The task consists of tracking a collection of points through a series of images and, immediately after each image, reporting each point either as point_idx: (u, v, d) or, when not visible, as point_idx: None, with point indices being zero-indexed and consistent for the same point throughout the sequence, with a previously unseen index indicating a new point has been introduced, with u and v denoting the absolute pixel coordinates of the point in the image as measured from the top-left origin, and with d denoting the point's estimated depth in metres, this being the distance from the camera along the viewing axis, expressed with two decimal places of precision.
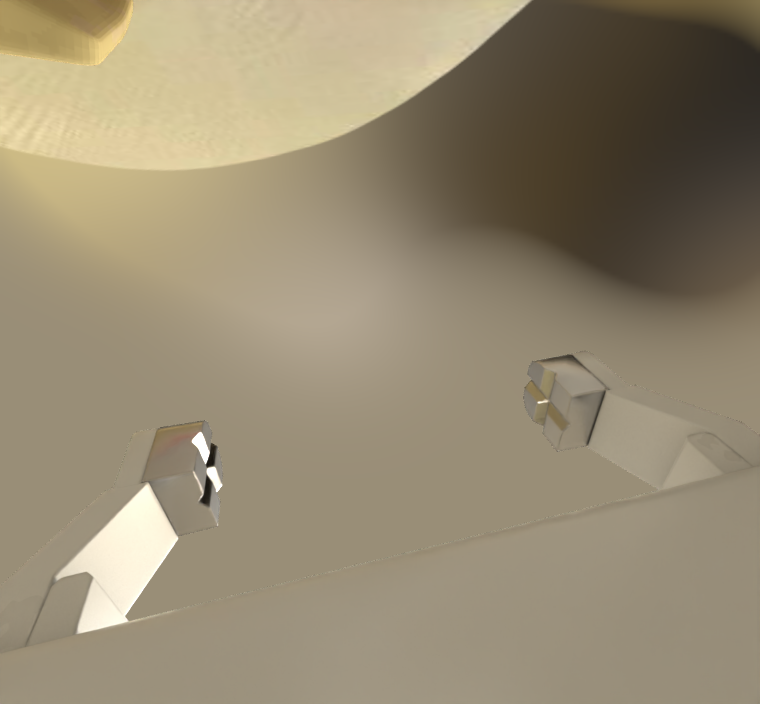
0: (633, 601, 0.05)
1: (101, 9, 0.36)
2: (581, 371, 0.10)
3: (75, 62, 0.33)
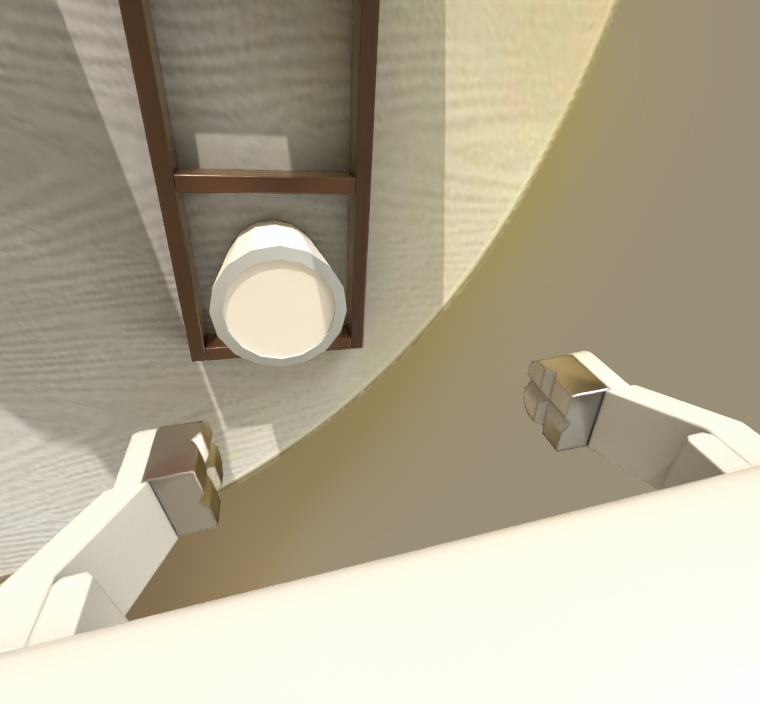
0: (633, 601, 0.05)
1: None
2: (581, 371, 0.10)
3: None
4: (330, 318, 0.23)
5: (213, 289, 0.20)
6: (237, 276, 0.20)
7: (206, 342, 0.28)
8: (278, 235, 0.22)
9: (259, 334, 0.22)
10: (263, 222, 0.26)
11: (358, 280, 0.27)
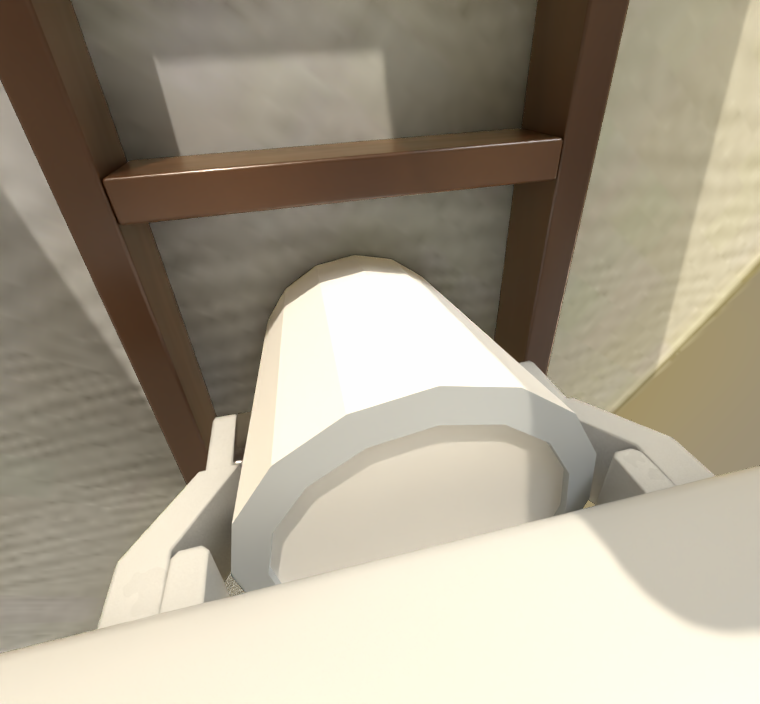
0: (633, 601, 0.05)
1: None
2: None
3: None
4: None
5: (236, 528, 0.07)
6: (306, 487, 0.06)
7: None
8: (398, 319, 0.08)
9: None
10: (334, 263, 0.12)
11: (534, 362, 0.13)
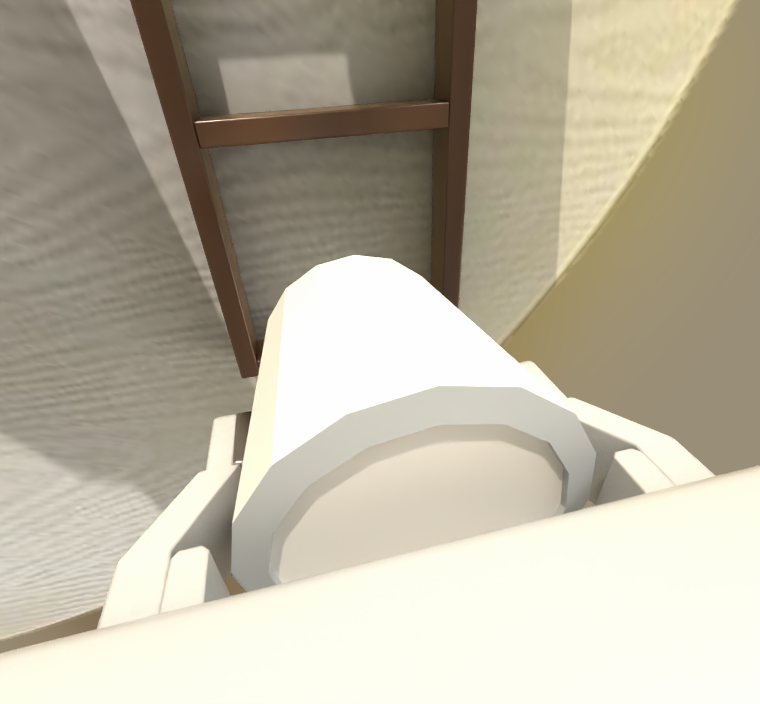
0: (633, 601, 0.05)
1: None
2: None
3: None
4: None
5: (236, 528, 0.07)
6: (306, 487, 0.06)
7: (257, 352, 0.21)
8: (398, 319, 0.08)
9: None
10: (334, 263, 0.12)
11: (451, 254, 0.20)
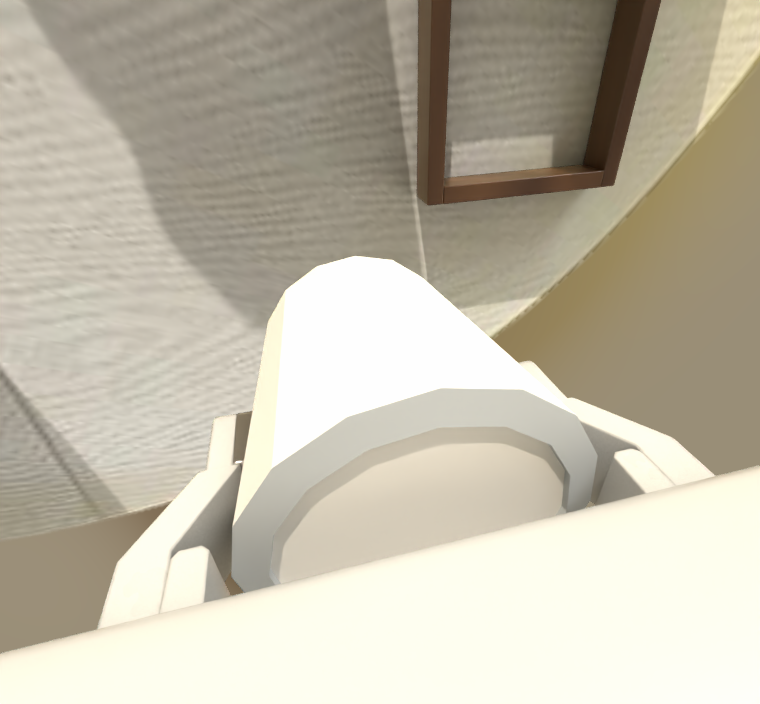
0: (633, 601, 0.05)
1: None
2: None
3: None
4: None
5: (236, 531, 0.06)
6: (306, 490, 0.06)
7: None
8: (399, 320, 0.08)
9: None
10: (335, 264, 0.12)
11: (631, 81, 0.22)
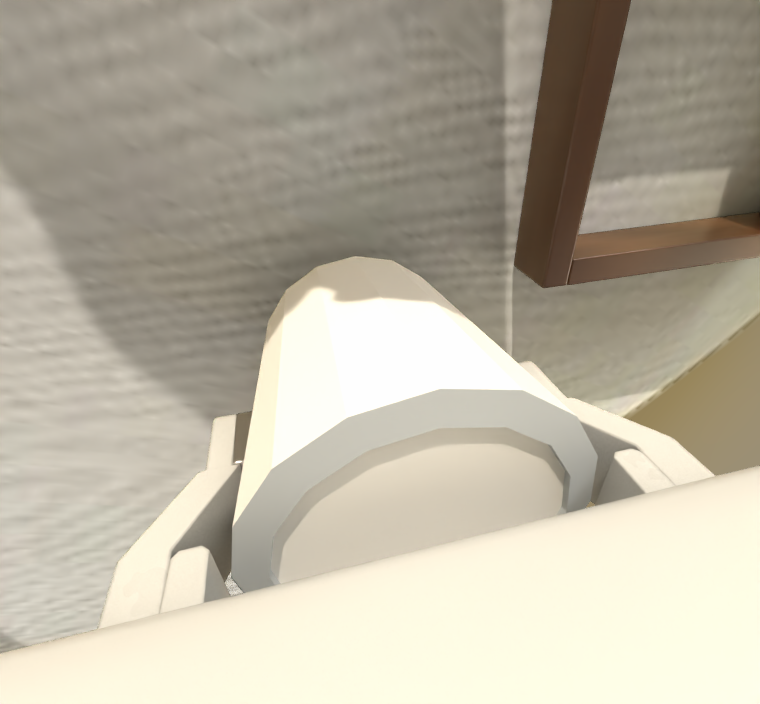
0: (633, 601, 0.05)
1: None
2: None
3: None
4: None
5: (236, 531, 0.06)
6: (306, 490, 0.06)
7: None
8: (399, 321, 0.08)
9: None
10: (335, 265, 0.11)
11: None
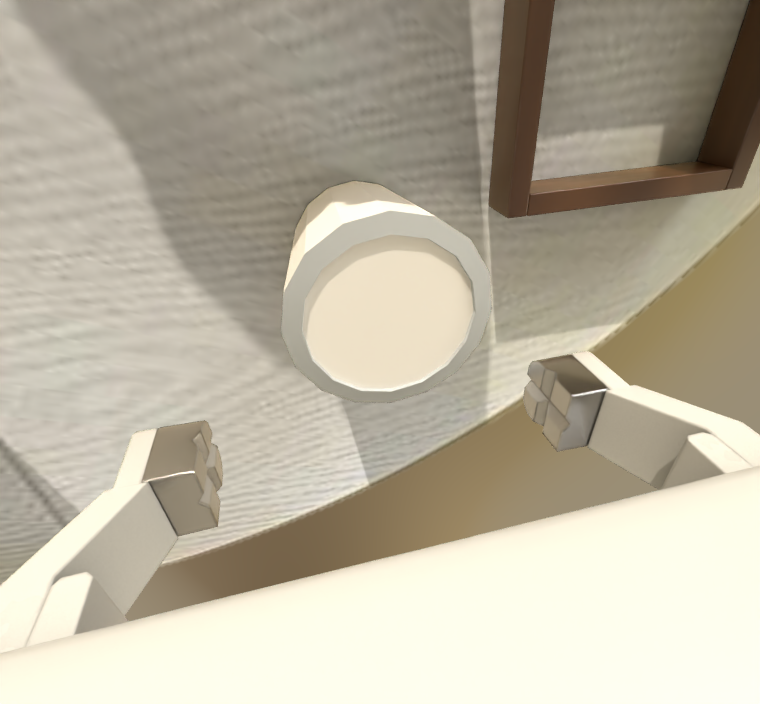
0: (633, 601, 0.05)
1: None
2: (581, 371, 0.10)
3: None
4: (466, 323, 0.14)
5: (285, 295, 0.12)
6: (322, 270, 0.12)
7: None
8: (375, 197, 0.14)
9: (357, 358, 0.14)
10: (340, 185, 0.17)
11: None
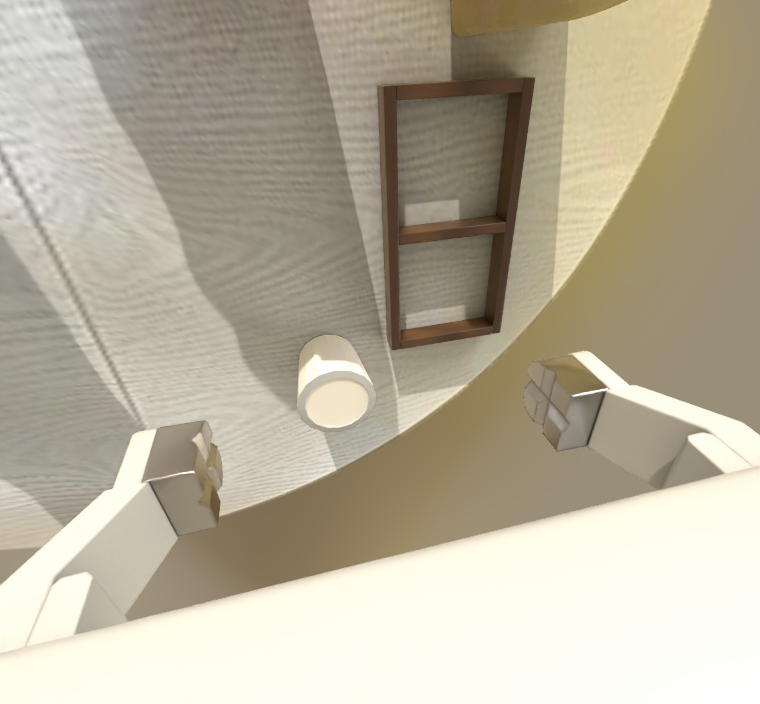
0: (633, 601, 0.05)
1: None
2: (581, 371, 0.10)
3: None
4: (366, 402, 0.37)
5: (299, 397, 0.35)
6: (312, 389, 0.35)
7: None
8: (332, 356, 0.37)
9: (325, 416, 0.37)
10: (319, 337, 0.40)
11: (501, 287, 0.40)
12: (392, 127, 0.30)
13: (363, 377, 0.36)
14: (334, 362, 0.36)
